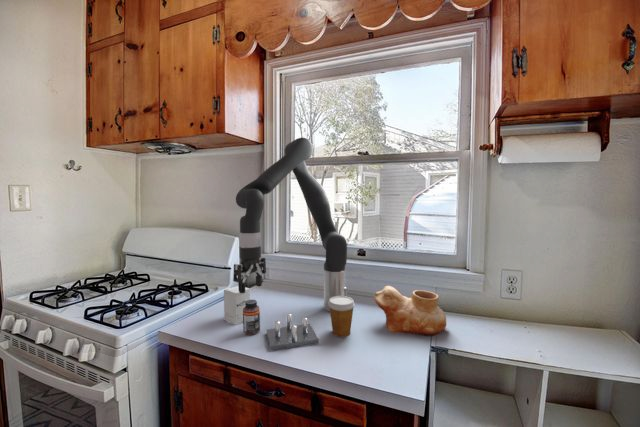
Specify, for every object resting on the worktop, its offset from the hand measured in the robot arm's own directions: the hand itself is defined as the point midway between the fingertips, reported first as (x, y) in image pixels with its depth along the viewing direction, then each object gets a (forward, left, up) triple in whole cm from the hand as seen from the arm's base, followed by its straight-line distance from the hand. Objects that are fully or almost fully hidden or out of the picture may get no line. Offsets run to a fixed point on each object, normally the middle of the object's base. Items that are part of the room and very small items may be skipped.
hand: (250, 289), depth 103 cm
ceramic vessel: (-57, +13, -16) cm, 61 cm away
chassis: (-13, +9, -16) cm, 22 cm away
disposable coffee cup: (-31, +10, -16) cm, 36 cm away
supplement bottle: (0, 0, -16) cm, 16 cm away
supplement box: (+5, -12, -16) cm, 20 cm away
